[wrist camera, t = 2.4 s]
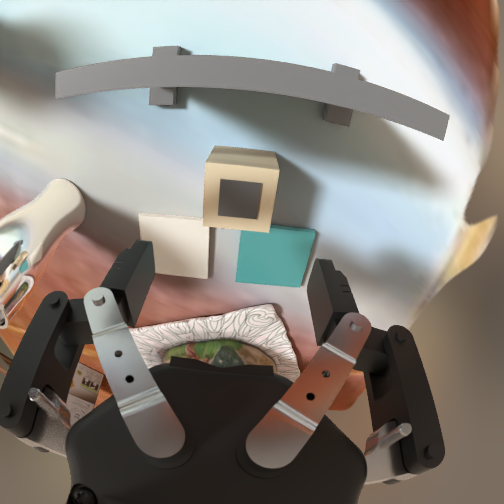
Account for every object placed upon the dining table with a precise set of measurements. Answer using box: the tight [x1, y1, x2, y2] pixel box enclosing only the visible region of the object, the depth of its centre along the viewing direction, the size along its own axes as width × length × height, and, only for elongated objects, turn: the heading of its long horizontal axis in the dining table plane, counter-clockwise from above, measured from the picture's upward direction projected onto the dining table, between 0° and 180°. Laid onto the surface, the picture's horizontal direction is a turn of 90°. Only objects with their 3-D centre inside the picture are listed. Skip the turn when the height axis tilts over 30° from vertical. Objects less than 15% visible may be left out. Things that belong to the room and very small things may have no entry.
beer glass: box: [0, 179, 86, 329], centre depth 18 cm, size 7×7×15 cm
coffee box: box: [66, 362, 104, 426], centre depth 40 cm, size 9×6×16 cm
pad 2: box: [236, 225, 316, 287], centre depth 28 cm, size 7×7×1 cm
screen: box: [55, 46, 450, 141], centre depth 13 cm, size 5×16×13 cm, turn 83°
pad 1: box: [138, 213, 210, 279], centre depth 27 cm, size 7×7×1 cm
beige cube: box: [203, 146, 280, 233], centre depth 21 cm, size 5×5×5 cm
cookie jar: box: [129, 304, 300, 382], centre depth 27 cm, size 25×25×32 cm
